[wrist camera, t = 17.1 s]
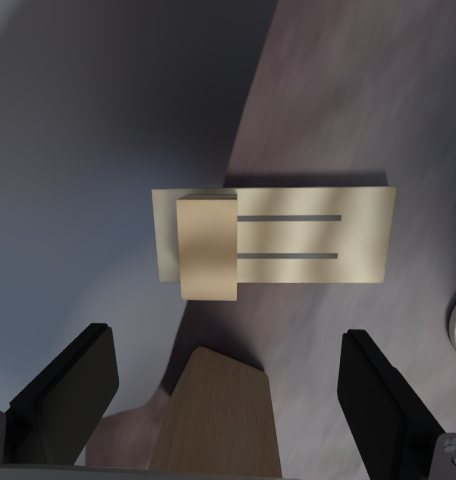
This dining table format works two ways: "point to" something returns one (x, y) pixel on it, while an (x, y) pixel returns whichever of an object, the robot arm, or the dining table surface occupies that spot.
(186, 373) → the wooden block
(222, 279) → the block
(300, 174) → the dining table surface
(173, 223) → the birch plank
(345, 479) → the dining table surface
